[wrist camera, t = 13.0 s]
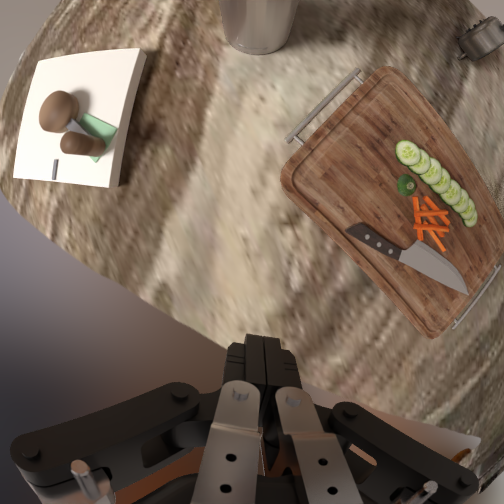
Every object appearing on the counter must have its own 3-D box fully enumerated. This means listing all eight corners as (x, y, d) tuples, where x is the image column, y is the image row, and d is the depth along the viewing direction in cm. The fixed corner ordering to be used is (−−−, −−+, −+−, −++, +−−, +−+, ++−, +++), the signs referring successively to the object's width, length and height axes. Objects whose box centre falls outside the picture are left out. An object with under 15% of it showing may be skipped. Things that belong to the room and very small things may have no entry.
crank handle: (42, 120, 31) (12, 114, 24) (65, 87, 30) (37, 75, 23) (91, 171, 33) (61, 170, 26) (117, 134, 32) (90, 126, 25)
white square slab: (48, 65, 32) (37, 60, 28) (147, 55, 32) (139, 47, 29) (24, 176, 36) (12, 177, 33) (118, 186, 37) (107, 187, 34)
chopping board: (510, 245, 40) (520, 249, 37) (433, 348, 45) (440, 356, 42) (373, 50, 33) (381, 43, 30) (256, 169, 37) (256, 167, 34)
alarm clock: (460, 69, 32) (520, 45, 16) (441, 44, 31) (497, 12, 15) (481, 49, 30) (533, 28, 14) (464, 27, 29) (513, 0, 14)
